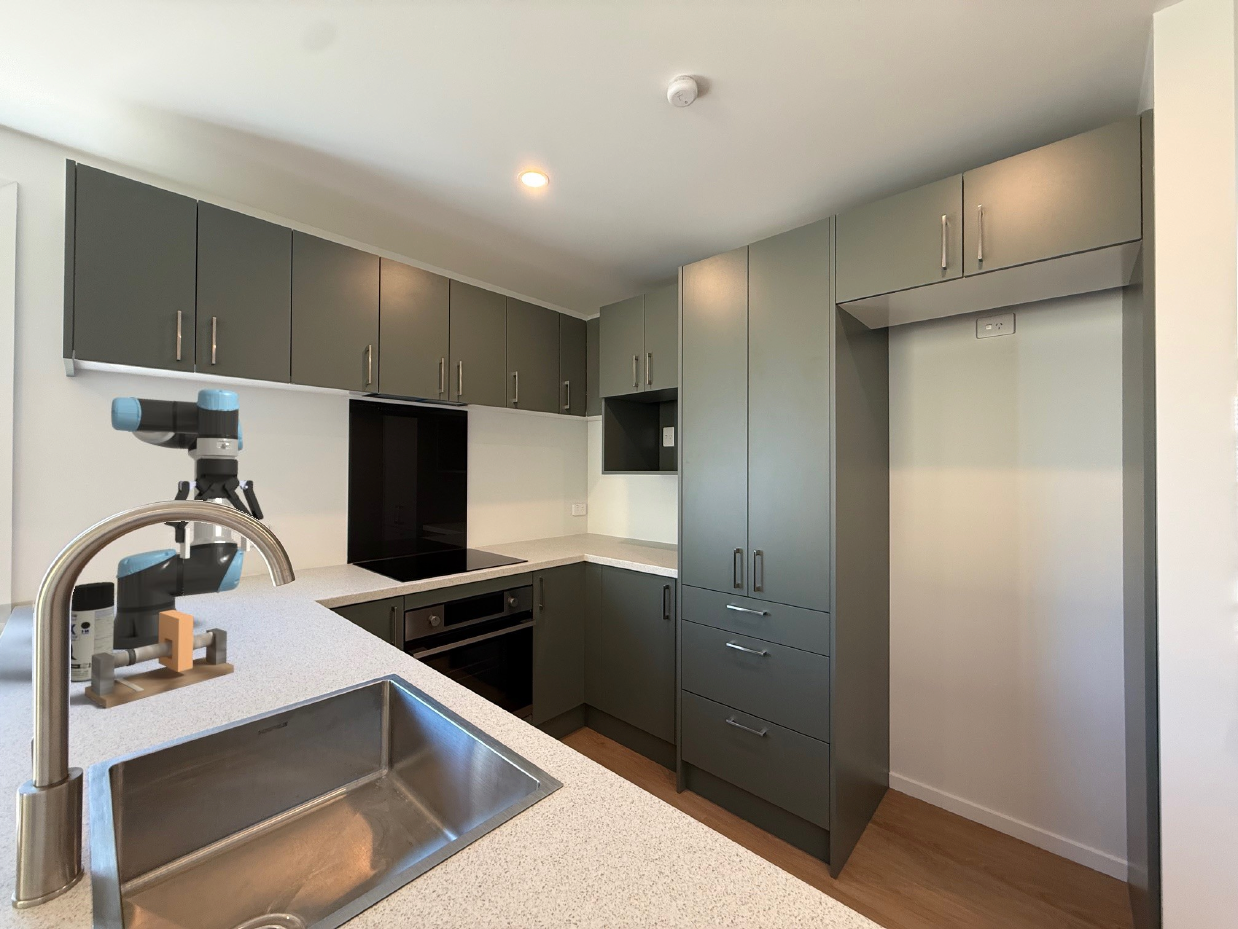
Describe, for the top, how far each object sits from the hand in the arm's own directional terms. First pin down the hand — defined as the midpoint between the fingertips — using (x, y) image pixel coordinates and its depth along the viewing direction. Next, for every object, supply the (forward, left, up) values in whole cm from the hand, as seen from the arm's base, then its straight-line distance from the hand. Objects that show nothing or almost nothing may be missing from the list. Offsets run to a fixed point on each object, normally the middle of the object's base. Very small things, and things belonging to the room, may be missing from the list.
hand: (216, 554), depth 119 cm
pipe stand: (0, -9, -26) cm, 28 cm away
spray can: (-18, -16, -26) cm, 35 cm away
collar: (0, -7, -23) cm, 24 cm away
